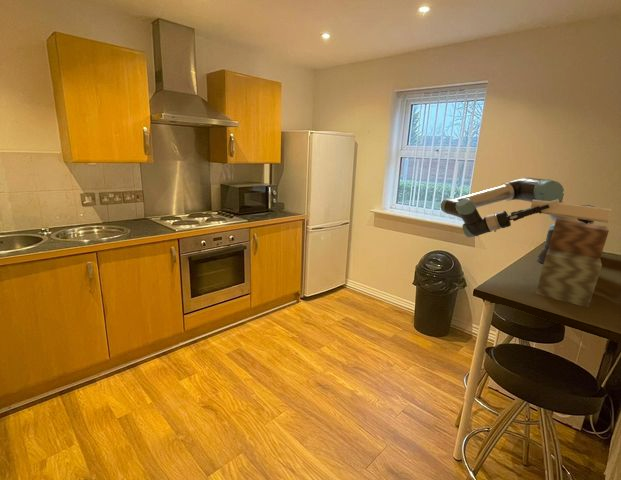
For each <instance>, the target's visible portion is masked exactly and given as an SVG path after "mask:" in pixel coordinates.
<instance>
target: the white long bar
mask: <svg viewBox="0 0 621 480" xmlns="http://www.w3.org/2000/svg"><path fill="white" fill-rule="evenodd" d="M546 203H549V201H541V200H532V202H531V203H530V204H531V205H530V207H529V208H530V209H531V208H534V207H537V206H539V205H543V204H546ZM559 205H560V206H559V207H555V208H552V209H549V210H545V211H541V212H542V213H541V214H543V215H548V214H550V215H557V216H564V217H570V218H577V219H584V220H591V221H594V222H598V223H599V222H600V223H604V224H605V223H606V224H608V223H609V222H610V221H609V220H610V217H611V214H612V211H613V210H612V209H611V208H605V207H596V206H594V207H589V206H581V205H582V204H580V205H578V204H573V203H565V202H564V203H559ZM539 207H540V206H539Z"/></svg>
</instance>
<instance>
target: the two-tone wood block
mask: <svg viewBox="0 0 621 480" xmlns="http://www.w3.org/2000/svg"><path fill="white" fill-rule="evenodd" d="M554 224H555V226H554V230H553V233H552V237H551V241H550V244H549V248H548V251H547V254H546V257H545V261H544V264H543V266H542V269H541V271H540V272H541V273H540V277H539V280H538V284H537V288H536V291H535V295H537V296H543V297H546V298H550V299H554V300H558V301H560V302H561V301H562V302H566V303H569V304H573V305H577V306H580V307H584V308H589V307H590V304H591V302H592V299H593V298H592V297H593V294H594V291H595V290H596V286H597V283H598V279H599V277H600V273H601V270H602V267H603V264H602V261H601V257H602V253H603V252H604V251H603V250H604V248H605V244H606V241H607V239H608V235H609V232H610V230H609V228H608V226H607V225H606V226H605V225H598V224H594V223H593V224H586V223H579V222H573V221H566V220H559V219H557V220H556V222H555V223H554Z"/></svg>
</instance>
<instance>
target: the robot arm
mask: <svg viewBox="0 0 621 480" xmlns="http://www.w3.org/2000/svg"><path fill="white" fill-rule="evenodd" d="M564 192H565V189H564V186H563V185H562V184H561V183H560V182H559V181H558V180H557V181H556V180H553V179H545V178H544V179H543V178H535V177H524V178H517V179H515V180H510V181H507V182H504V183H503V182H502V184H501V185H500V186H496V187H492V188H489V189H485V190H482V191H479V192H475V193H471V194H467V195H464V196H460V197H456V198H448V197H447V198H444V199H443V200H442V201H441V203H440V210H441V211H442V212H443V213H445V214H447V215H451V216H454V217H456V218H460V219H461V220H462V221H463V224H462V231H463V234H464V235H465V236H466V238H474V237H479V236H481V235H483V234H487V233H491V232H493V231H494V232H495V233H496V232H497V231H498V230H501V229H505V228H509V227H511V226H512V224H511V223H512V222H511V221H513V222H516V221H518V220H520V219H521V220H522V219H524V218H525V217H529V216H531V215H535V214H540V215H541V214H543V213H542V212H541V211H545V210H549V209H552V208H555V207H559V206H560V205H559V203H565V202H564V196H565V193H564ZM513 200H515V201H525V202H528V203H532V200H541V201H549V203H546V204H543V205H539V206H540V207H539V206H537V207H534V208H531V207H528V208H526V209H519V210H517V211H512V212H510V214H508V212H507V211H506V210H502V211H499V212H496V213H493V214H492V213H491V214H489V215H486V216H483V217H482V216H481V214H480V213H479V211H478V209H477V208H482V207H484V206H489V205H492V204H496V203H500V202H502V201H505V202H506V201H507V202H510V201H513ZM530 208H531V209H530ZM547 216H548V217H549V218H550V220H552V222H553V223H552V224H551V225H550V226H549V228H548V230H547V234H546V239H545V242H544V243H545V244H544V246H543V249H542V250H541V252H540V253H539V255H538V256H537V258H536V259H537V261H536V262H538V263H540V264H543V265H544V261H545V257H546V254H547V251H548V248H549V244H550V241H551V237H552V233H553V230H554V226H555V222H556V220H557V219H559V220H566V221H573V222H579V221H578V219H577V218H570V217H564V216H557V215H550V214H547ZM579 223H580V222H579Z"/></svg>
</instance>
